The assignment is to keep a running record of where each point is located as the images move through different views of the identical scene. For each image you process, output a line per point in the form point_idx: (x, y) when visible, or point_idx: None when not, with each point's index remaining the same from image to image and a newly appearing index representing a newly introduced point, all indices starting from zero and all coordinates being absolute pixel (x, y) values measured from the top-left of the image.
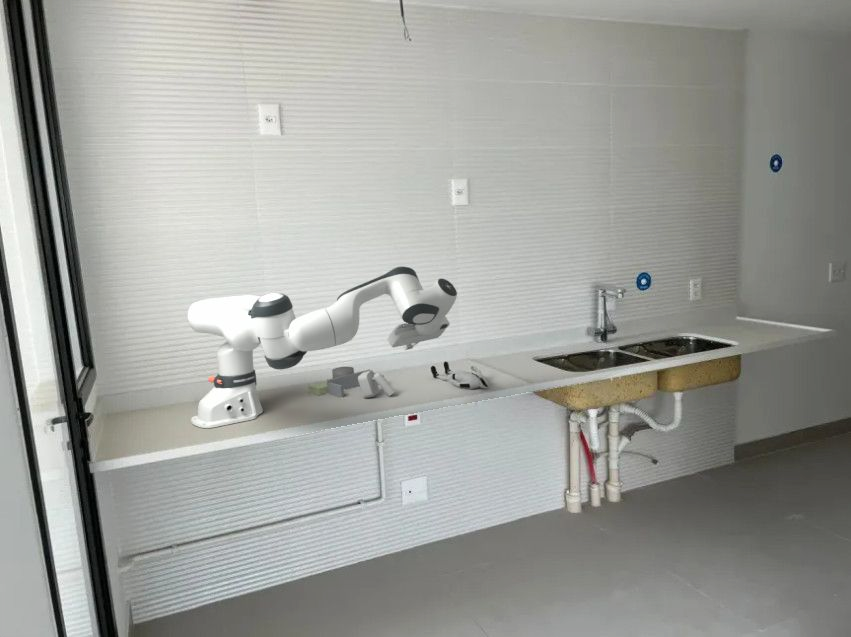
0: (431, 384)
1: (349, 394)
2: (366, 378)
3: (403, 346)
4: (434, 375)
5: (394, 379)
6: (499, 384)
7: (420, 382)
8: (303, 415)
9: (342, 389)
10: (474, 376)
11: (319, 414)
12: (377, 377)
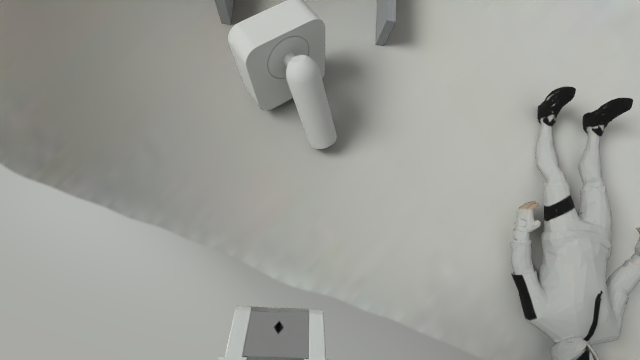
0: (484, 154)
1: None
2: (244, 63)
3: (235, 320)
4: (542, 110)
5: (449, 21)
6: (625, 349)
7: (477, 110)
8: (15, 58)
9: (221, 4)
10: (585, 316)
11: (49, 92)
12: (290, 81)
